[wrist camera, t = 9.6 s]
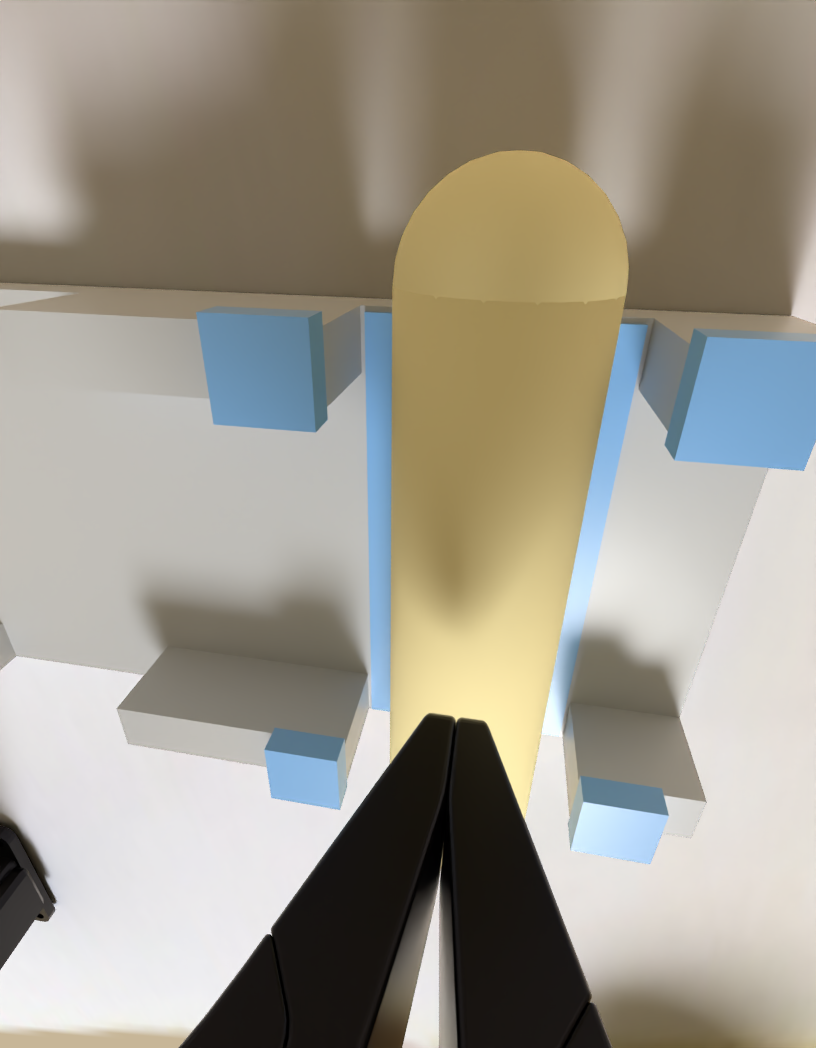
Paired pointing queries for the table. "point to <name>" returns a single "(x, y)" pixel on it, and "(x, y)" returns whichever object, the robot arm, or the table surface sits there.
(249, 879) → the table surface
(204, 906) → the table surface
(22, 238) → the table surface
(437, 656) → the cream capsule cylinder
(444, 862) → the robot arm
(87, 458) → the toy block layout
